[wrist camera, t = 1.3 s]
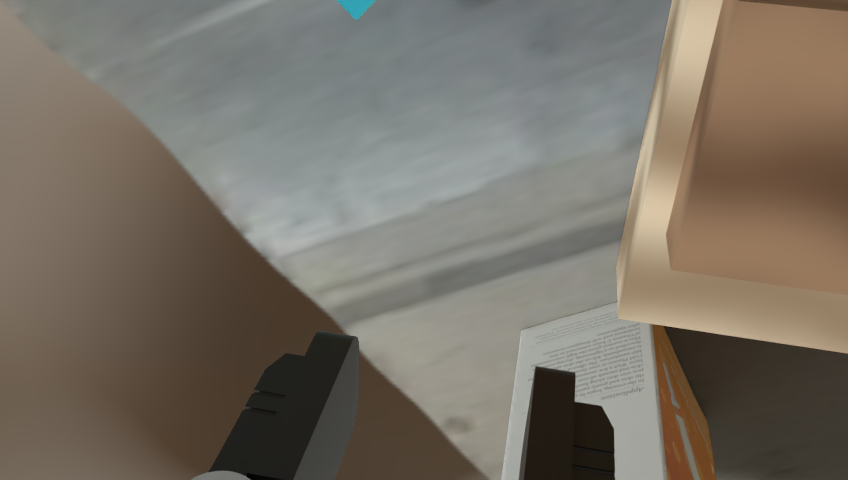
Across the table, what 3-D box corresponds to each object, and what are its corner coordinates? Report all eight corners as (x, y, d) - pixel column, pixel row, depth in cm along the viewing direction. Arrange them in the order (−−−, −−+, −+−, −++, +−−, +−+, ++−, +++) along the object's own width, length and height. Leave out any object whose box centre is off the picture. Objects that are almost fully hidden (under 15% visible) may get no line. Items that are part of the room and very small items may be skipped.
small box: (710, 420, 38) (754, 688, 27) (583, 449, 40) (576, 706, 29) (651, 286, 35) (675, 527, 24) (517, 325, 37) (483, 561, 26)
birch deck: (709, -178, 26) (726, -169, 22) (1118, -149, 24) (1201, -135, 21) (616, 264, 35) (618, 318, 31) (911, 306, 33) (946, 368, 30)
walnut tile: (727, -19, 24) (739, 0, 22) (938, 1, 24) (970, 23, 22) (665, 234, 29) (670, 269, 27) (839, 258, 28) (857, 296, 26)
